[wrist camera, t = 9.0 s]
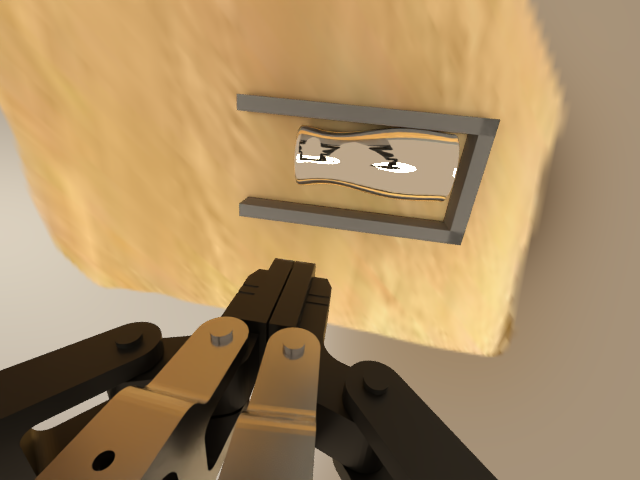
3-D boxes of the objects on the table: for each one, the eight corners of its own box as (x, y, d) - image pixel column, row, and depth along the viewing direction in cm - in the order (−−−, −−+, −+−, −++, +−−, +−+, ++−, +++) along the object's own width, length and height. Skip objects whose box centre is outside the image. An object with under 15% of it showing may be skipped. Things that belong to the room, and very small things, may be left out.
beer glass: (304, 185, 35) (432, 198, 34) (290, 193, 29) (449, 210, 27) (308, 123, 33) (445, 134, 32) (294, 116, 27) (466, 129, 25)
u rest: (247, 95, 32) (236, 93, 29) (487, 118, 30) (500, 119, 27) (248, 208, 38) (239, 215, 35) (452, 235, 35) (460, 245, 33)
